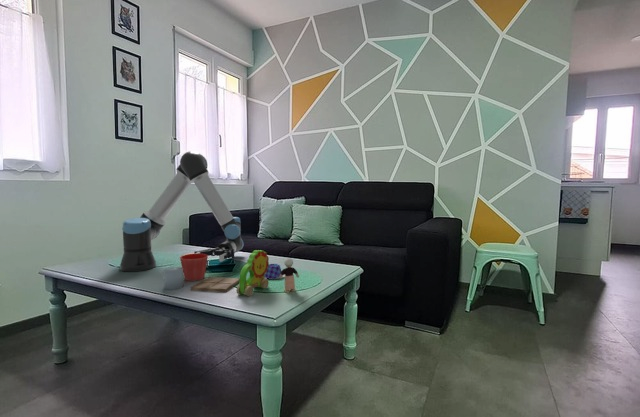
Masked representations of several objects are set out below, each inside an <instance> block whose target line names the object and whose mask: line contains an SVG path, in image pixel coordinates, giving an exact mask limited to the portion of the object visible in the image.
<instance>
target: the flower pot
mask: <svg viewBox="0 0 640 417" xmlns="http://www.w3.org/2000/svg"><path fill="white" fill-rule="evenodd" d="M208 257H209V256H207V255H206V254H194V253H188V254H184V255H181V256H180V258H179V259H180V264H181V268H183V278H184V280H185V281H189V282H194V281H202V280H204V279H205V276H206V269H207V264H208Z"/></svg>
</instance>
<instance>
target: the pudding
mask: <svg viewBox="0 0 640 417" xmlns="http://www.w3.org/2000/svg"><path fill="white" fill-rule="evenodd" d="M281 271H282V268H281V265H280V264H278V263H269V266H268V268H267V272H266V273H265V279H267V278H269V279H267V280H278V279H280V278H279V276H280V273H281ZM272 278H273V279H272ZM283 278H285V275H283V276H282V278H281V279H283Z"/></svg>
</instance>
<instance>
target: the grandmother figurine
mask: <svg viewBox="0 0 640 417" xmlns="http://www.w3.org/2000/svg"><path fill="white" fill-rule="evenodd" d="M284 265H285V267H286V268H283V269H281V273H280V276H279V279H280V280H281V279H283V278H282V276H283V275H285V277H284V291H283V292H284V293H287V294H288V293H290V292H291V293H294V292H296V290H297V289H296V284H295V283H296V282H295V276H296V278H299V277H300V275H299V272H298V271H297V269H296V268H295V267H292V266H293V265H294V260H293V259H292V258H290V257H288V258H286V259H285V260H284ZM294 274H295V276H294Z"/></svg>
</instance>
